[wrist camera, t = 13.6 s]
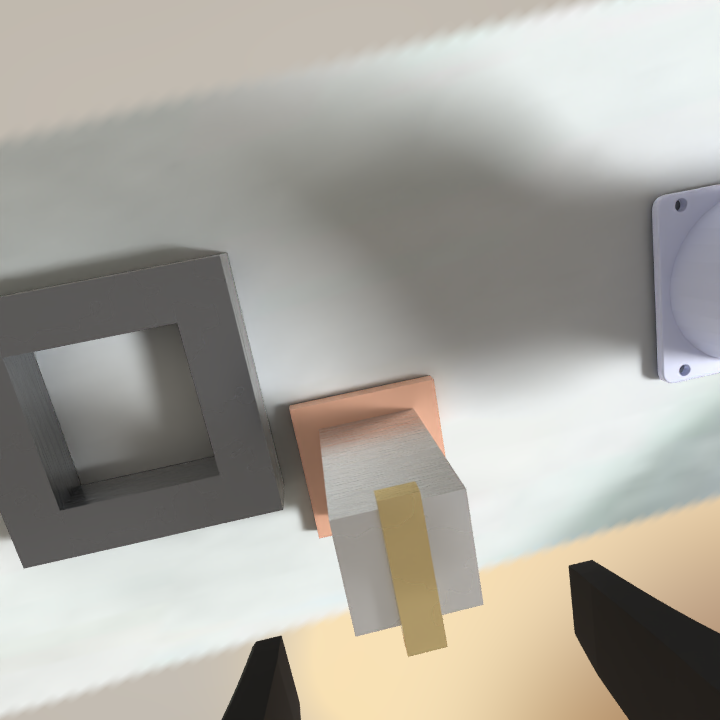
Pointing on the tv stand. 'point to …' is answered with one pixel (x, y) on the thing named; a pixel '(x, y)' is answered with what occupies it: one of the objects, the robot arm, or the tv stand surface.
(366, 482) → the steel key
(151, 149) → the tv stand surface
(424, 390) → the terracotta pad
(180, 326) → the charcoal socket
